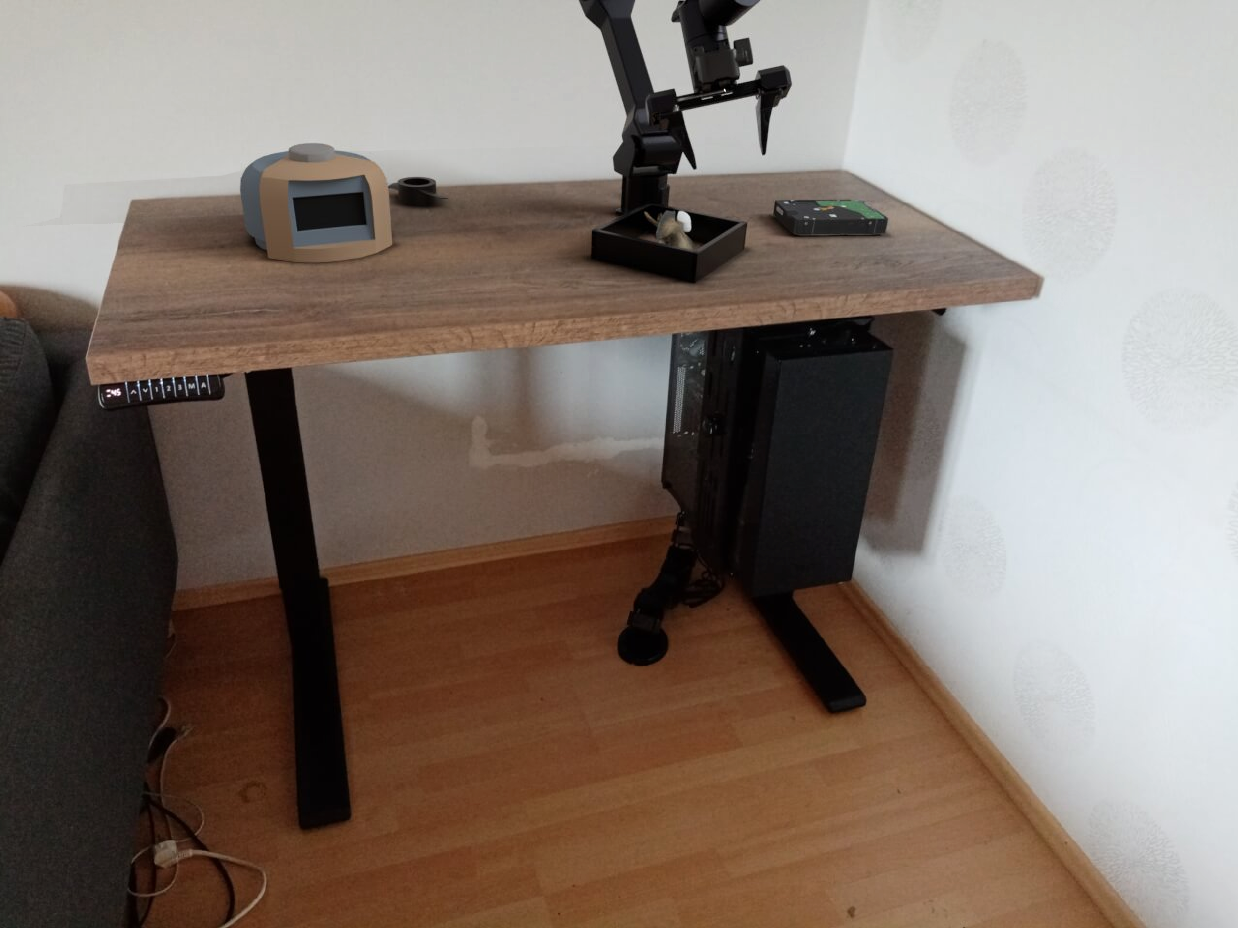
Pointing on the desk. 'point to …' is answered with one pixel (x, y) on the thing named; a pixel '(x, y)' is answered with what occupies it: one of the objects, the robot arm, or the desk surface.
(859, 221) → the disk drive
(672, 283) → the desk surface
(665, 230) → the eagle figurine
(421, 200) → the duct tape
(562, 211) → the desk surface
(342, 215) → the alarm clock
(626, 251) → the desk tidy
